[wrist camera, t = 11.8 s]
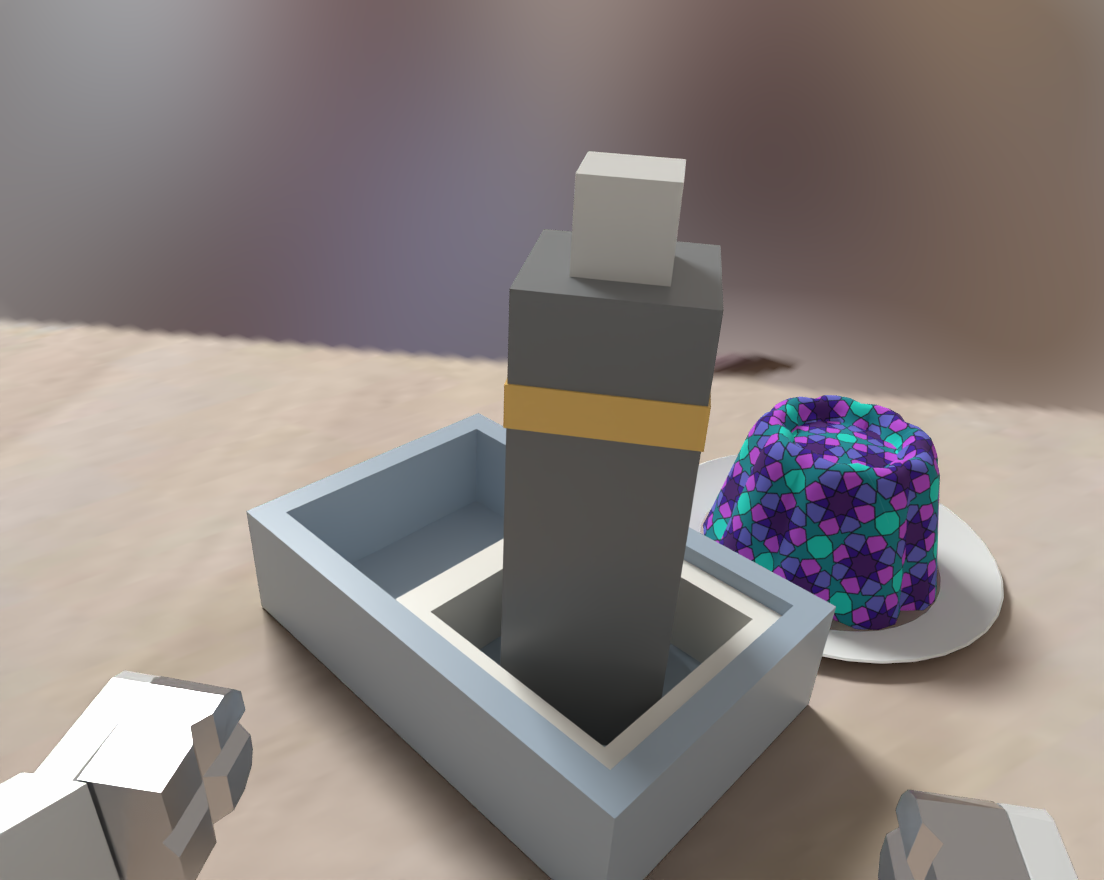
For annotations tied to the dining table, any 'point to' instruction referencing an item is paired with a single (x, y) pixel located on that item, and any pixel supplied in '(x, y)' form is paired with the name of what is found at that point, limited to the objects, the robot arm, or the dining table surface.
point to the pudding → (854, 527)
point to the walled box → (498, 697)
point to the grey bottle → (605, 441)
